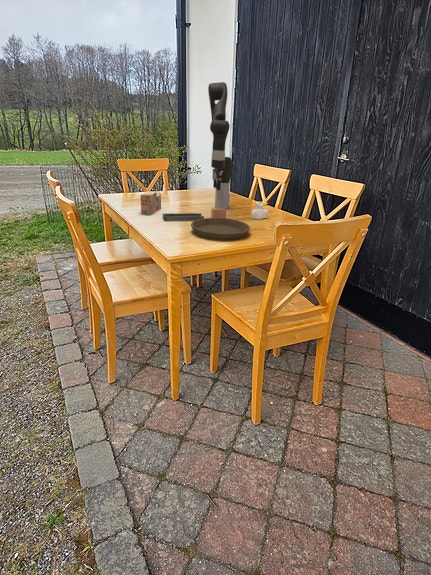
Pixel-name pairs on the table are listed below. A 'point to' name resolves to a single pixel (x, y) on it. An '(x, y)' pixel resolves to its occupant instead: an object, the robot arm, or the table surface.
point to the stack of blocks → (150, 203)
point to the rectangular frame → (182, 216)
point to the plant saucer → (220, 228)
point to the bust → (259, 211)
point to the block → (218, 213)
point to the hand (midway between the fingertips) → (216, 188)
